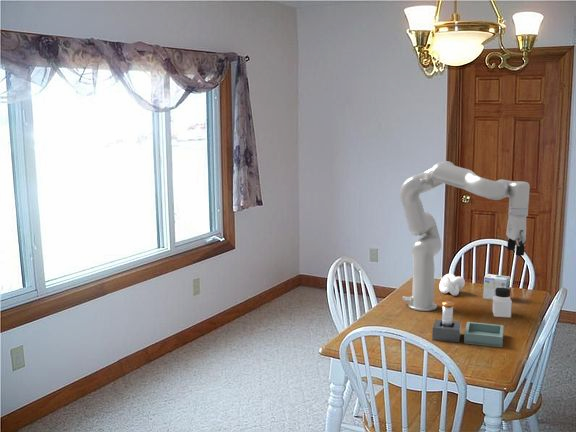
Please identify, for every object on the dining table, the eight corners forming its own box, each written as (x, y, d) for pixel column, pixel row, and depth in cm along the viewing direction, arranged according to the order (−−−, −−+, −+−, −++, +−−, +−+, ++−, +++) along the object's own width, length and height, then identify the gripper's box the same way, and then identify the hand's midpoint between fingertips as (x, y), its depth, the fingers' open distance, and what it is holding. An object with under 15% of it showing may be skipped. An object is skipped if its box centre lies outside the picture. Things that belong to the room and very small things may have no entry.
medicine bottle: (511, 317, 281) (512, 290, 279) (493, 316, 282) (495, 289, 280) (509, 312, 288) (510, 286, 286) (492, 311, 289) (493, 285, 287)
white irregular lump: (459, 289, 323) (459, 271, 322) (468, 296, 312) (469, 278, 310) (436, 290, 322) (437, 272, 320) (446, 297, 310) (446, 279, 308)
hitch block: (432, 339, 256) (432, 327, 255) (435, 331, 265) (435, 319, 264) (458, 342, 253) (459, 330, 252) (460, 333, 262) (461, 321, 261)
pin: (440, 338, 257) (441, 303, 255) (441, 334, 262) (442, 300, 259) (452, 339, 256) (453, 304, 254) (453, 335, 260) (454, 301, 258)
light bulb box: (509, 298, 308) (510, 276, 306) (505, 302, 303) (507, 279, 301) (486, 294, 314) (487, 273, 312) (482, 298, 308) (483, 276, 307)
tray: (464, 343, 252) (464, 333, 251) (466, 331, 265) (467, 321, 264) (502, 347, 247) (502, 337, 247) (503, 334, 261) (503, 325, 260)
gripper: (501, 208, 277) (499, 247, 280) (516, 215, 260) (514, 257, 263) (519, 208, 277) (516, 247, 280) (535, 215, 260) (532, 257, 263)
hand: (515, 252), depth 271 cm, fingers open, 9 cm apart
